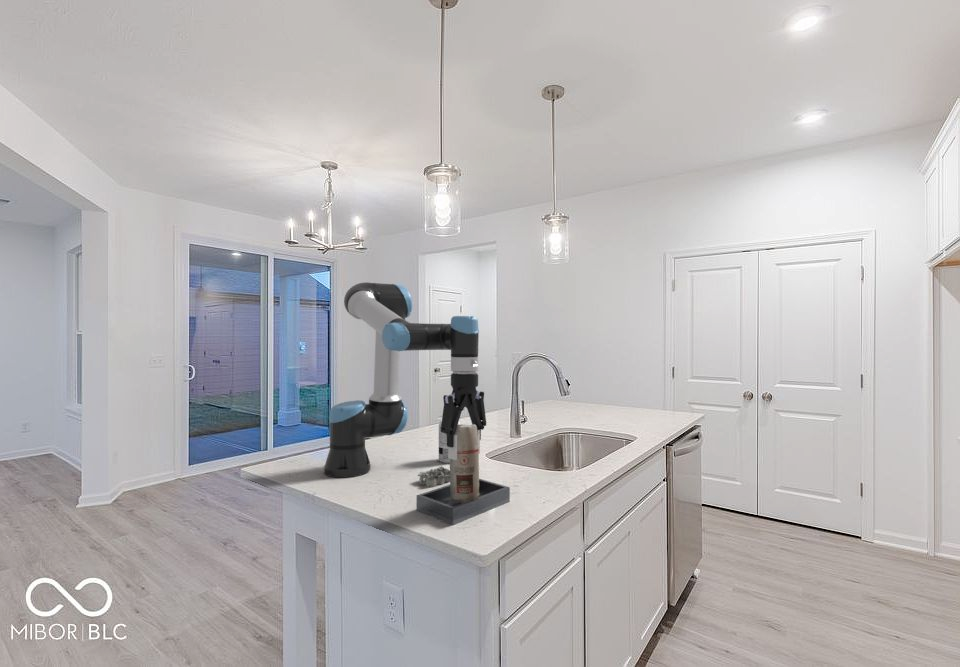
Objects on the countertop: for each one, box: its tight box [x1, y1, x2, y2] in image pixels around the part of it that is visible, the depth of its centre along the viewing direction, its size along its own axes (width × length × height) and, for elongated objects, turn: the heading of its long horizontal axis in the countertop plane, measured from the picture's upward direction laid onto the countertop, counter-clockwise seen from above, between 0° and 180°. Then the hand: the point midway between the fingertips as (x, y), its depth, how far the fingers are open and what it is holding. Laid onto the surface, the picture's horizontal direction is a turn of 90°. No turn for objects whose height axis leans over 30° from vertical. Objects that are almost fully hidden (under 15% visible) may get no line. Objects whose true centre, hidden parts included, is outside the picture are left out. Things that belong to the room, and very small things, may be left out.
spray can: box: [449, 424, 480, 501], centre depth 127 cm, size 8×8×20 cm
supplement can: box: [438, 419, 462, 464], centre depth 173 cm, size 8×8×15 cm
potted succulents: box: [417, 465, 450, 488], centre depth 148 cm, size 11×8×4 cm
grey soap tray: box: [415, 478, 511, 526], centre depth 127 cm, size 22×14×4 cm, turn 137°
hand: (464, 455), depth 127 cm, fingers closed on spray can, 8 cm apart
